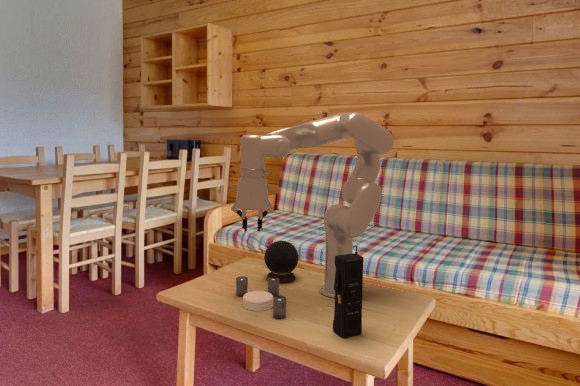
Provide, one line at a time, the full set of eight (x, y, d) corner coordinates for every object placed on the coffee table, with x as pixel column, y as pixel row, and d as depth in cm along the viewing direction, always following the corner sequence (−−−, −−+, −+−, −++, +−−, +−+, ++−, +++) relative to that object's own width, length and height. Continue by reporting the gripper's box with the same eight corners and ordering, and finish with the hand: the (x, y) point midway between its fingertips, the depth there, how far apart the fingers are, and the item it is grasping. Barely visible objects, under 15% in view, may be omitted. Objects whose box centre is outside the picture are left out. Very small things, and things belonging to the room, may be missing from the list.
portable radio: (340, 340, 125) (343, 252, 121) (328, 331, 130) (331, 247, 126) (363, 334, 128) (367, 249, 124) (351, 326, 133) (354, 244, 130)
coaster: (248, 313, 141) (248, 303, 141) (239, 302, 150) (239, 292, 150) (277, 309, 145) (277, 298, 145) (266, 298, 154) (267, 288, 154)
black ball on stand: (284, 287, 165) (284, 247, 162) (257, 279, 173) (257, 241, 170) (304, 278, 175) (305, 240, 173) (278, 271, 183) (279, 235, 181)
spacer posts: (284, 292, 159) (284, 276, 158) (286, 319, 137) (286, 300, 136) (236, 292, 158) (236, 276, 158) (230, 319, 137) (230, 300, 136)
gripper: (278, 173, 145) (278, 228, 148) (227, 172, 145) (227, 228, 147) (278, 175, 138) (278, 233, 141) (224, 175, 137) (225, 233, 140)
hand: (252, 230), depth 144 cm, fingers open, 3 cm apart
